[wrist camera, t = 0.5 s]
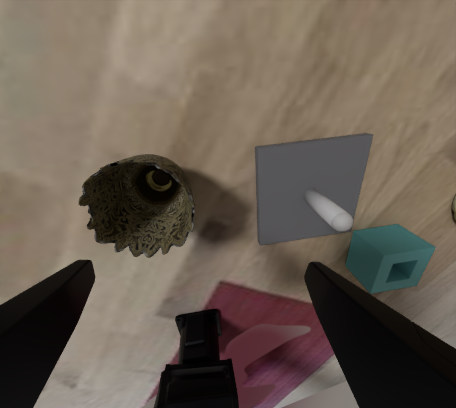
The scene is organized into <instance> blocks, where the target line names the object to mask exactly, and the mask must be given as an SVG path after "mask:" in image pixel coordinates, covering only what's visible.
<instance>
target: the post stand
mask: <svg viewBox="0 0 456 408" xmlns="http://www.w3.org/2000/svg"><path fill="white" fill-rule="evenodd" d="M372 138H373V134H367V133H364V134H356V135H347V136H339V137H331V138H323V139H314V140H306V141H298V142H289V143H281V144H273V145H265V146H256V147H255V160H256V194H257V227H258V242H259V244H260V245H266V244H273V243H279V242H286V241H292V240H299V239H305V238H312V237H318V236H325V235H331V234H338V233H344V232H351V228H352V225H353V219H354V215H355V211H356V206H357V202H358V198H359V194H360V189H361V185H362V181H363V176H364V172H365V168H366V164H367V159H368V155H369V151H370V146H371V142H372Z"/></svg>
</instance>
